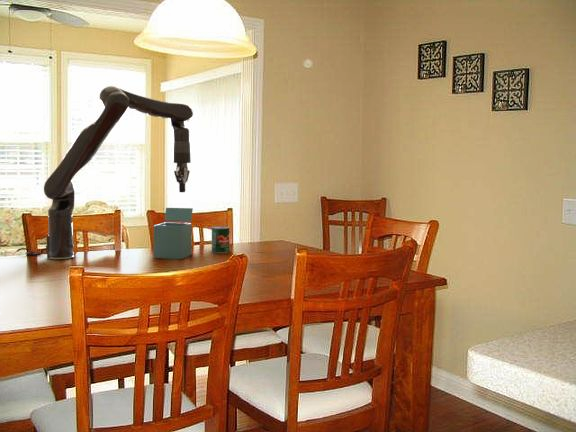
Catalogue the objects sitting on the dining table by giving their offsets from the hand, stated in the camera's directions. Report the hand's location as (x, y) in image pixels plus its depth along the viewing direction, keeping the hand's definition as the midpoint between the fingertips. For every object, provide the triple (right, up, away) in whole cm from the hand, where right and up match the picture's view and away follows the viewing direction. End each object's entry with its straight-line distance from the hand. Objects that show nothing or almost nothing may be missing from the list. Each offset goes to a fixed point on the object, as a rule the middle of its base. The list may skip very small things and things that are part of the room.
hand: (182, 192), depth 261 cm
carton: (-2, -27, -8) cm, 29 cm away
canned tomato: (+16, -26, +5) cm, 31 cm away
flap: (-1, -10, -3) cm, 10 cm away
